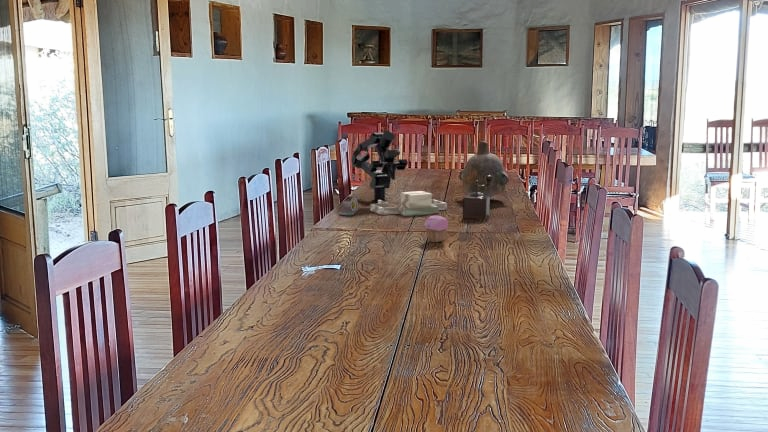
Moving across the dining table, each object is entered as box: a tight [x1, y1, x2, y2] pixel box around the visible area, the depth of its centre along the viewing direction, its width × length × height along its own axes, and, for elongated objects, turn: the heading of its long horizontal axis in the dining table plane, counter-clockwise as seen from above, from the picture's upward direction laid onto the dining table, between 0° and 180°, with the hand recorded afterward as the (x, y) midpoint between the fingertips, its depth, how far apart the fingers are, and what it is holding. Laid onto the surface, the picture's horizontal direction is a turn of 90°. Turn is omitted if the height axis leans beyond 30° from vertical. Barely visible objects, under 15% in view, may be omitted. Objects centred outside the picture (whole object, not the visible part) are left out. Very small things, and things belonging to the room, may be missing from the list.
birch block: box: [400, 190, 433, 209], centre depth 348 cm, size 9×11×9 cm
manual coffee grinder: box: [462, 175, 494, 220], centre depth 339 cm, size 16×11×18 cm
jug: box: [458, 140, 510, 198], centre depth 381 cm, size 24×21×30 cm
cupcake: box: [424, 214, 449, 243], centre depth 287 cm, size 9×9×10 cm
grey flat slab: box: [369, 199, 448, 217], centre depth 355 cm, size 28×34×3 cm
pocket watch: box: [339, 191, 359, 217], centre depth 340 cm, size 8×8×10 cm
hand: (393, 179), depth 365 cm, fingers closed
